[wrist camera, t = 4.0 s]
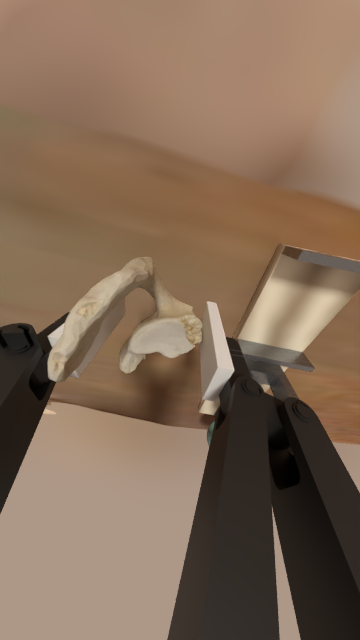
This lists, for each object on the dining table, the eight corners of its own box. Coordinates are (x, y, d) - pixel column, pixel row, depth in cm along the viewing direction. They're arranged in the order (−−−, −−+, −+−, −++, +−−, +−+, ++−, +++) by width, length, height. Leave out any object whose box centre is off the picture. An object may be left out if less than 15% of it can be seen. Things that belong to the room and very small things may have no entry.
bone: (195, 366, 15) (90, 484, 7) (148, 331, 17) (29, 388, 9) (237, 282, 10) (89, 330, 2) (167, 252, 13) (-24, 226, 5)
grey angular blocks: (212, 379, 31) (216, 432, 23) (279, 243, 17) (349, 263, 9) (259, 388, 31) (280, 444, 23) (366, 262, 17) (511, 298, 9)
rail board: (198, 405, 37) (198, 412, 36) (279, 243, 17) (285, 245, 15) (238, 413, 37) (239, 420, 36) (366, 262, 17) (380, 265, 15)
